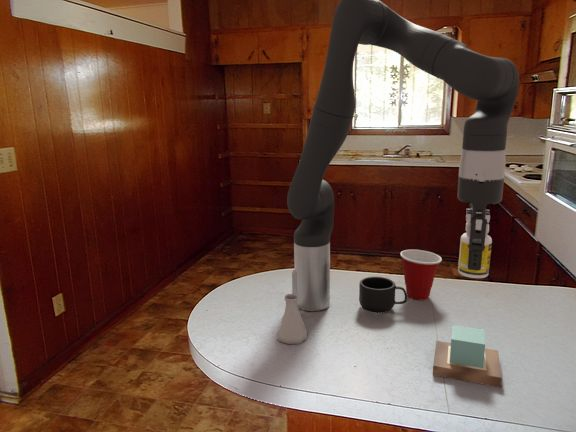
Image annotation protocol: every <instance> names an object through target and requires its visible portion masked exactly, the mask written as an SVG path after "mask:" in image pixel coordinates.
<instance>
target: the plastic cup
mask: <svg viewBox="0 0 576 432" xmlns="http://www.w3.org/2000/svg"><path fill="white" fill-rule="evenodd" d="M400 257H401V262H402V266H403V269H402V270H403V276H404V277H403V278H404V284H405V291H406V293H407V298H409V299H411V300H415V301H426V300H428V299H429V297H430V296H431V290H432V288H433V284H434V280H435V276H436V273H437V269H438V267H439V264H440V263H441V262H442V261H443V259H442V257H441V256H440V255H439V254H436V253H434V252H431V251H428V250H421V249H405V250H402V251H400Z"/></svg>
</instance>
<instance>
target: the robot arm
mask: <svg viewBox="0 0 576 432" xmlns="http://www.w3.org/2000/svg"><path fill="white" fill-rule="evenodd" d="M335 9H336V10H335V12H334V15H333V19H332V23H331V30H330V35H329V41H328V47H327V52H326V53H327V54H326V59H325V63H324V68H323V72H322V76H321V79H320V85H319V88H318V93H317V96H316V99H315V103H314V107H313V110H312V114H311V118H310V120H309V125H308V129H307V134H306V137H305V140H304V144H303V147H302V152H301V155H300V158H299V160H298V161H299V163H298V165H297V166H296V167H297V168H296V169H295V172H294V176H293V177H292V180H291V183H290V185H289V188H288V192H287V196H286V204H287V209H288V211H289V212H290V214H291V216H292V217H293V218H295V219H297V220H301V223H300V224H299V226H298V227H296V229H295V231H294V233H293V250H294V251H293V253H294V254H293V256H294V257H293V258H294V259H293V260H294V269H293V270H292V271H291V288H292V290H291V294H296V295H298V300H297V306H298V309H300V310H303V311H308V312H318V311H322V310H325V309H327V308H328V307H330V305H331V301H330V300H331V235H332V233H333V229H334V219H335V218H334V216H335V195H334V192H333V189H332V187H331V185H330V184H329V182H328V181H326V180H324V177H325V174H326V171H327V170H328V167H329V166H330V164H331V162H332V161H333V159H334V158H335V156H336V155H337V154H338V152H339V150H341V148H342V146H343V144H344V142H345V141H346V139H347V137H348V134H349V132H350V129H351V125H352V122H353V118H354V115H355V113H356V94H355V87H354V80H353V66H354V62H355V56H356V53H357V51H358V47H359V45H363V46H364V45H365V46H375V47H379V48H383V49H388V50H390V51H393V52H395V53H397V54H398V55H400V56H402V57H403V58H404V59H405V60H406V61H407V62H409V63H410V64H411V65H413V66H414V67H415V68H417V69H419V70H420V71H423V72H424V73H427V74H429V75H431V76H432V77H435V78H437V79H439V80H442V81H443V82H444V83H445V84H447V85H448V86H449V87H450V88H451V89H453V90H455V92H457V93H459V94H460V95H461V96H464V97H466V98H468V99H472V100H474V101H476V106H475V110H474V113H473V114H472V115H471V116H469V117H468V118H466V119H465V121H464V126H463V133H462V134H463V135H462V136H463V137H462V145H461V148H462V149H461V154H460V159H459V164H458V165H459V168H458V181H457V183H458V184H457V194H456V195H457V197H456V198H457V199H458V201H460V202H463V203H467V204H468V203H469V208H466V212H465V213H466V215H465V221H466V223H467V231H466V233H467V237H469V245H468V248H469V249H468V250H469V255H468V269H469V270H477V271H479V270H480V269H481V260H482V251H484V249H485V246H484V244H485V238H486V237H487V235H488V234H489V232H488V224H489V223H490V220H491V213H490V209H487V205H496V204H499V203H500V202H502V201H503V193H504V185H505V184H504V183H505V174H506V161H507V160H506V148H507V147H506V146H507V137H508V124H509V121H510V119H511V116H512V112H513V109H514V106H515V103H516V99H517V97H518V92H519V88H520V87H519V86H520V85H519V84H520V75H519V70H518V67H517V65H516V64H515V63H514V62H513V60H511V59H508V58H506V57H495V56H488V55H485V54H482V53H479V52H476V51H474V50H472V49H469V47H468V46H467V45H466V44H465V43H464V42H462V41H460V40H457V39H455V38H454V37H450V36H449V35H445V34H443V33H441V32H438V31H436V30H432V29H430V28H427V27H425V26H421V25H419V24H415V23H413V22H411V21H409V20H407V19H406V18H404V17H402V16H401V15H400V14H398V13H397V12H396V11H394V10H393V9H392V8H391V7H389V6H388V5H386V4H385V3H384V2H383V1H381V0H340V2H339V3H338V4H337V6H336V8H335ZM470 223H471V229H470ZM473 239H481V244H480V243H472V241H473Z"/></svg>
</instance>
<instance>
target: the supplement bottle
mask: <svg viewBox="0 0 576 432" xmlns="http://www.w3.org/2000/svg"><path fill="white" fill-rule="evenodd" d="M470 229H471V223H470ZM465 231H466V232H464V233H463V234H462V235H461V236H460V242H459V243H460V244H459V255H458V256H459V257H458V263H457V265H458V266H457V272H458V273H459V275H461V276H463V277H467V278H470V279H484V278H486V277H488V276H489V274H490V273H489V272H490V264H491V253H492V247H493V246H492V245H493V239H492V237H491V236H490V235H488V234H487V237H486V238H485V244H484V246H485V249H484V251H482V260H481V269H480V270H479V271H477V270H469V269H468V255H469V250H468V249H469V248H468V245H469V237H467V222H466V223H465ZM489 232H490V224H489V223H488V233H489ZM472 243H480V244H481V239H473V241H472Z"/></svg>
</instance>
